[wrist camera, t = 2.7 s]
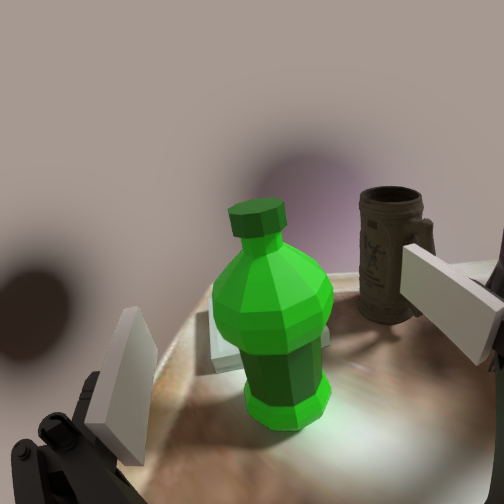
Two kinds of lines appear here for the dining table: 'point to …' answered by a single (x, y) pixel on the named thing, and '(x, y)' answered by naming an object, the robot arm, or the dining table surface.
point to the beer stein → (389, 249)
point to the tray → (234, 347)
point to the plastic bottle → (274, 318)
